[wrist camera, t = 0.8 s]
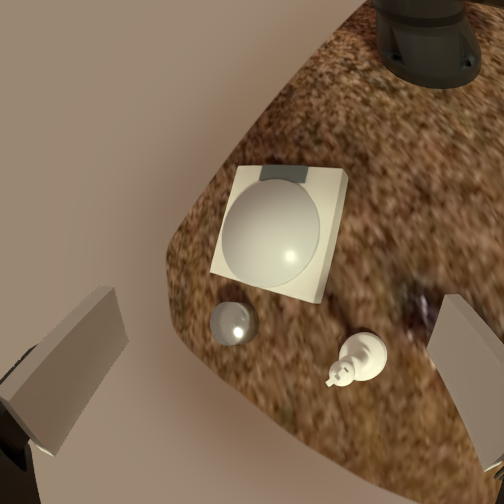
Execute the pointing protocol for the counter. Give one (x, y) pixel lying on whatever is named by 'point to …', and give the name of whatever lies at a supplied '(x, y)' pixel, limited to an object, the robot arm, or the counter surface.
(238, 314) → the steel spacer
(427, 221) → the counter surface
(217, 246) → the scale
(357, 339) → the chess piece
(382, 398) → the counter surface
